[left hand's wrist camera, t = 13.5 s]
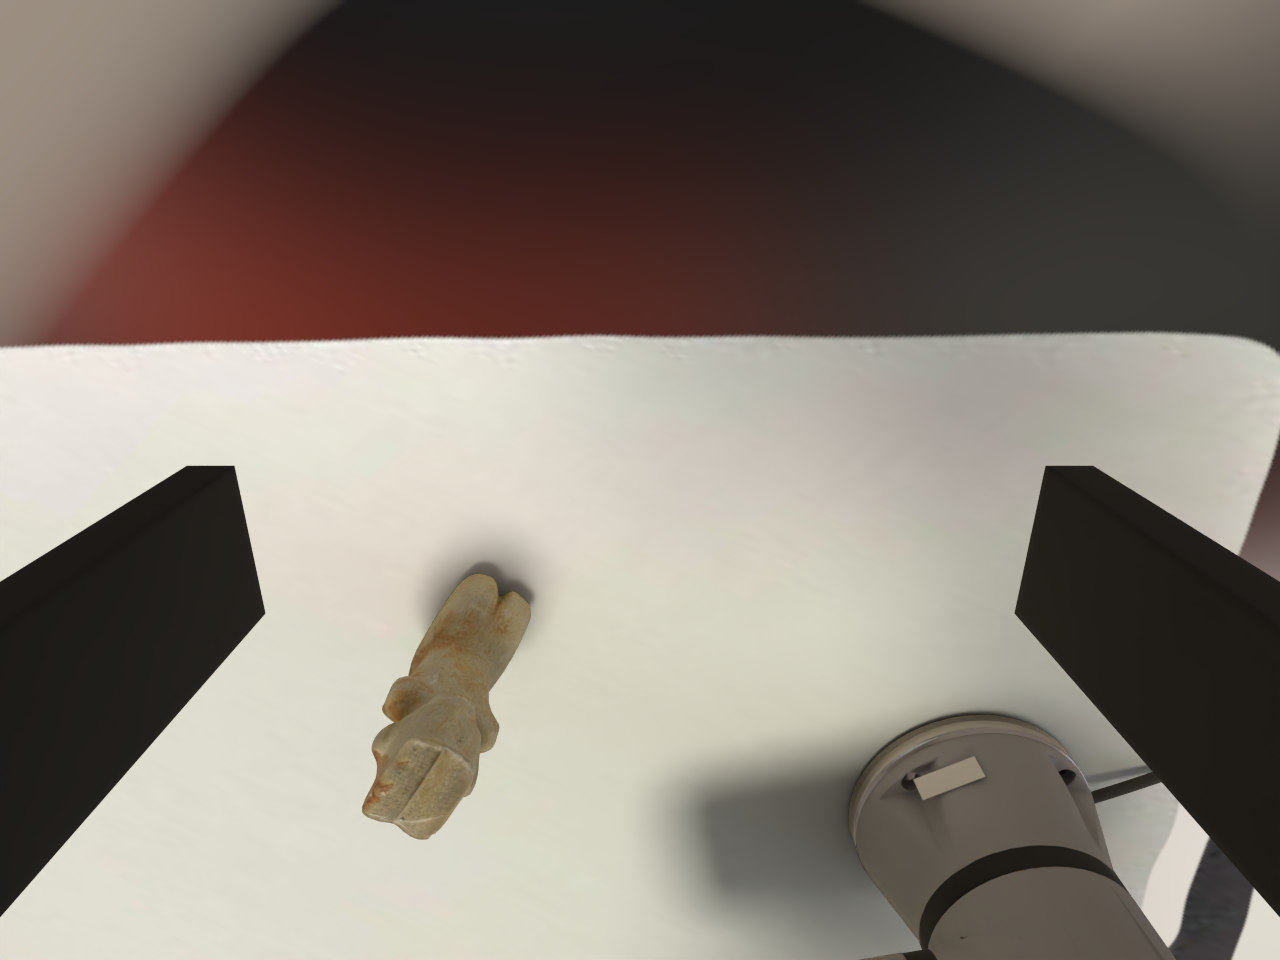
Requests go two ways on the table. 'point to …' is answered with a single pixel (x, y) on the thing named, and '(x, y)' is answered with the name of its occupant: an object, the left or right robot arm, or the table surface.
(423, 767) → the sculpture
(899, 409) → the table surface
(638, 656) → the table surface
